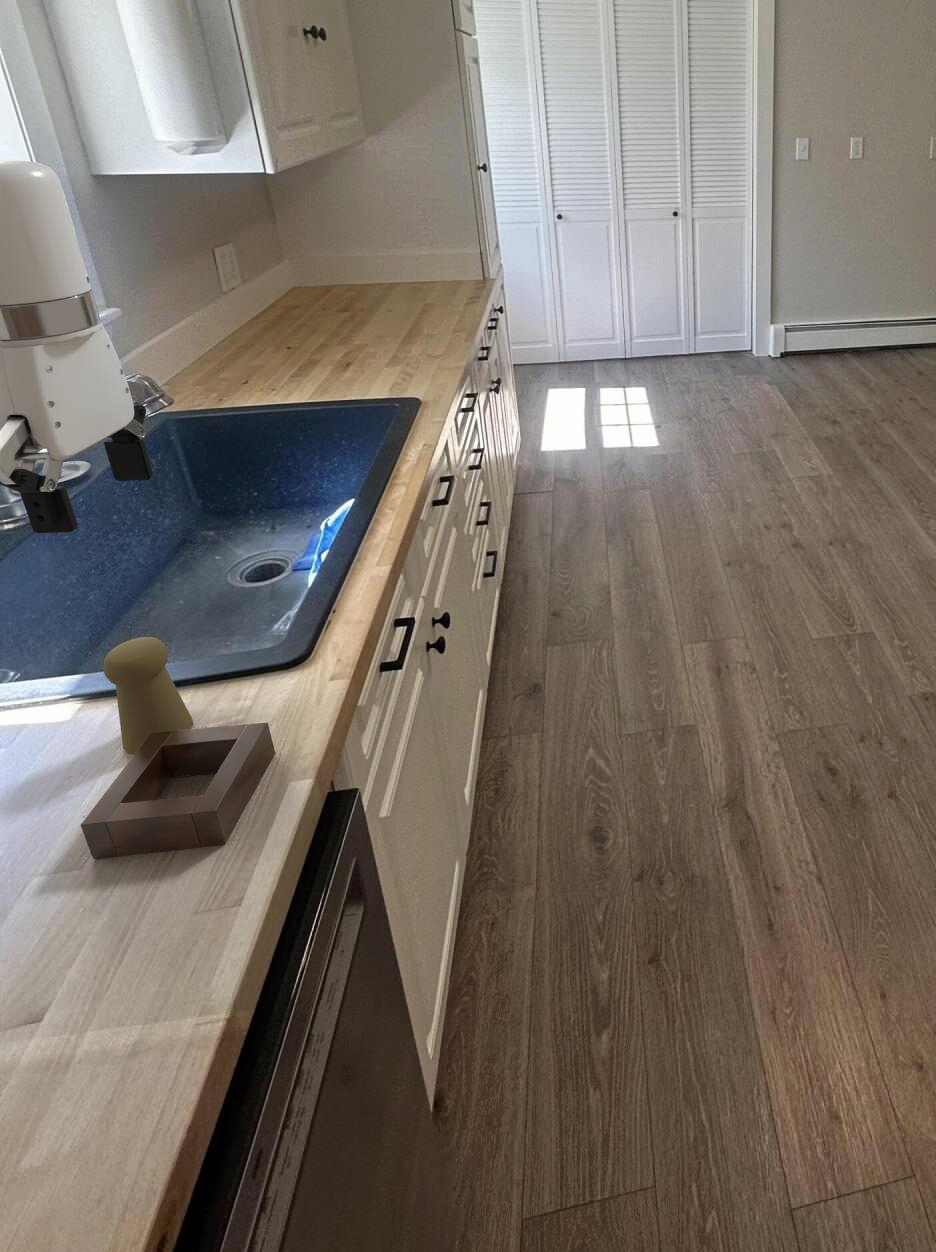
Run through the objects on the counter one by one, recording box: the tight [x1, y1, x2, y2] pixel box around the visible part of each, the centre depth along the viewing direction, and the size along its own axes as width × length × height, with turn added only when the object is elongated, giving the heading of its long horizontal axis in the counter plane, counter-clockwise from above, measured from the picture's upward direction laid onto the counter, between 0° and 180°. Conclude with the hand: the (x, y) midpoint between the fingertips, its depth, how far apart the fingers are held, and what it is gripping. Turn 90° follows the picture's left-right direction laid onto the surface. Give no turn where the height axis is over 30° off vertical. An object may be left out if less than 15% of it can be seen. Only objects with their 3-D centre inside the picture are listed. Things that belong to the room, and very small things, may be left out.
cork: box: [102, 636, 193, 756], centre depth 81 cm, size 6×6×11 cm
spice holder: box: [80, 722, 276, 860], centre depth 74 cm, size 11×11×4 cm
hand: (98, 503), depth 70 cm, fingers open, 9 cm apart
